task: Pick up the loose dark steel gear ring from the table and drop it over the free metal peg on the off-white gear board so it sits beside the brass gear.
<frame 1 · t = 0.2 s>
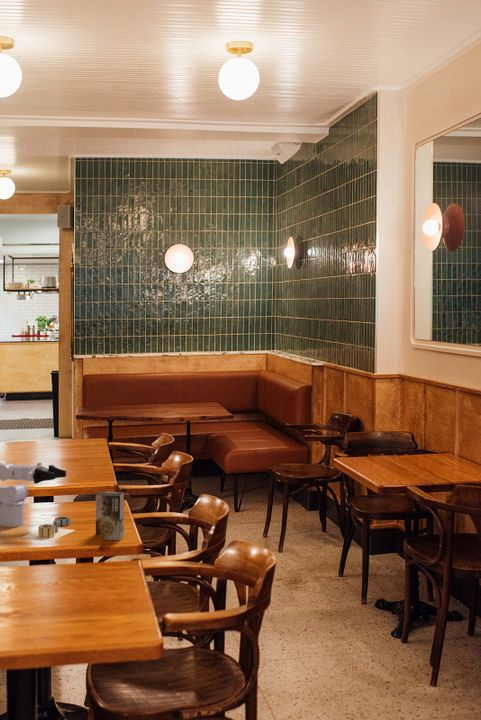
hand: (60, 475, 297), 21 cm above the table, tool horizontal, fingers open, 7 cm apart
gear board: (48, 536, 292), on the table
steel gear: (62, 527, 306), on the table
coffee box: (109, 538, 293), on the table
brass gear: (46, 535, 289), point 1 cm above the table, touching gear board
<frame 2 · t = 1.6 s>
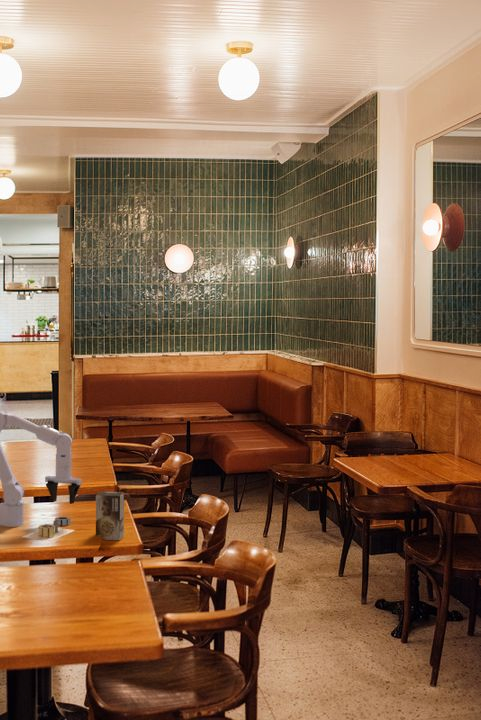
hand: (62, 502, 306), 9 cm above the table, tool pointing down, fingers open, 7 cm apart
nothing on the table moved.
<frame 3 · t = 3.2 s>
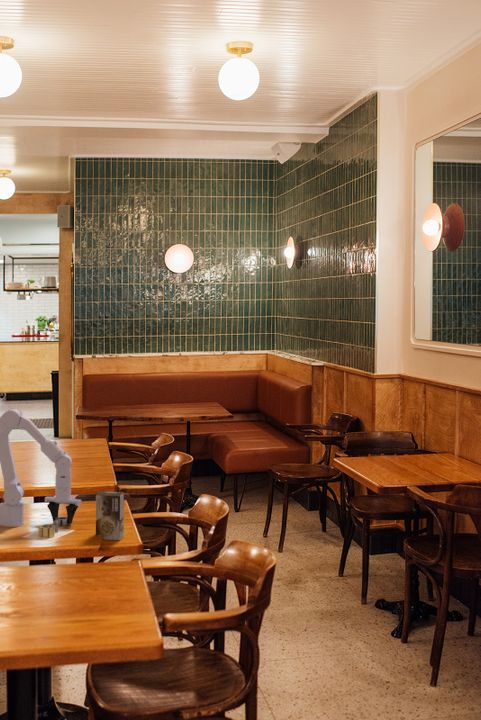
hand: (62, 523, 306), 2 cm above the table, tool pointing down, fingers closed on steel gear, 5 cm apart
steel gear: (62, 527, 306), on the table, touching gripper
everything else where it was.
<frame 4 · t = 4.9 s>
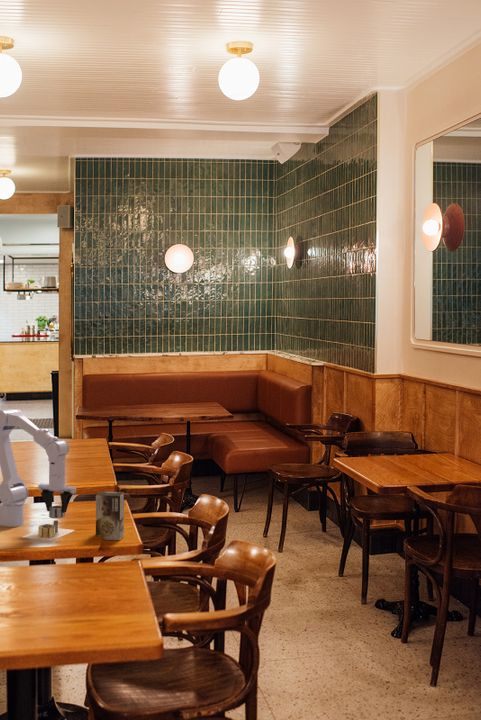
hand: (56, 511, 295), 8 cm above the table, tool pointing down, fingers closed on steel gear, 5 cm apart
steel gear: (57, 516, 296), point 7 cm above the table, touching gripper
everything else where it was.
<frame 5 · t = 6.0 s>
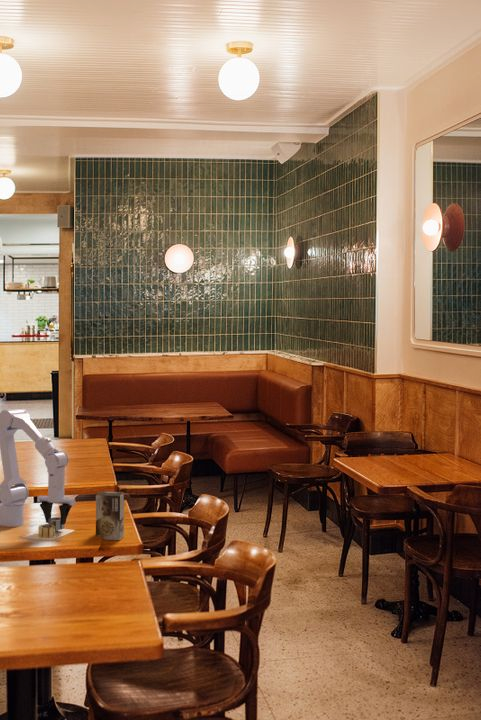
hand: (55, 523, 294), 4 cm above the table, tool pointing down, fingers closed on steel gear, 5 cm apart
steel gear: (56, 528, 295), point 2 cm above the table, touching gripper
everything else where it was.
when the fingers open (4 cm above the table, at t = 6.7 s): steel gear drops 1 cm, resting on gear board.
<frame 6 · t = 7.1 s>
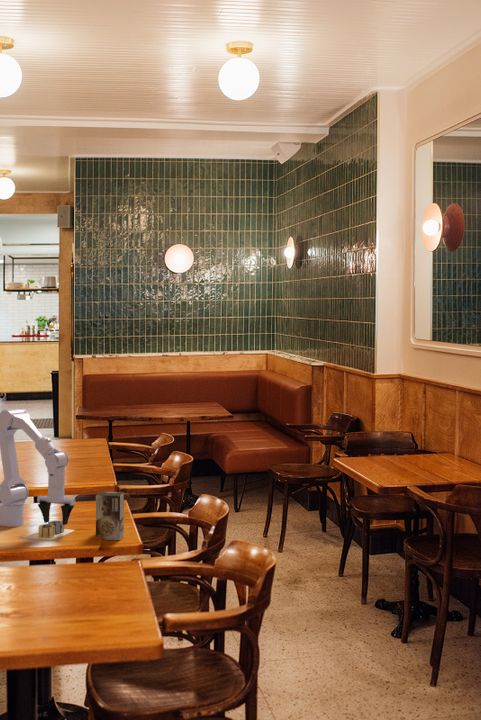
hand: (55, 523, 294), 4 cm above the table, tool pointing down, fingers open, 7 cm apart
steel gear: (56, 531, 295), point 1 cm above the table, touching gear board
everything else where it was.
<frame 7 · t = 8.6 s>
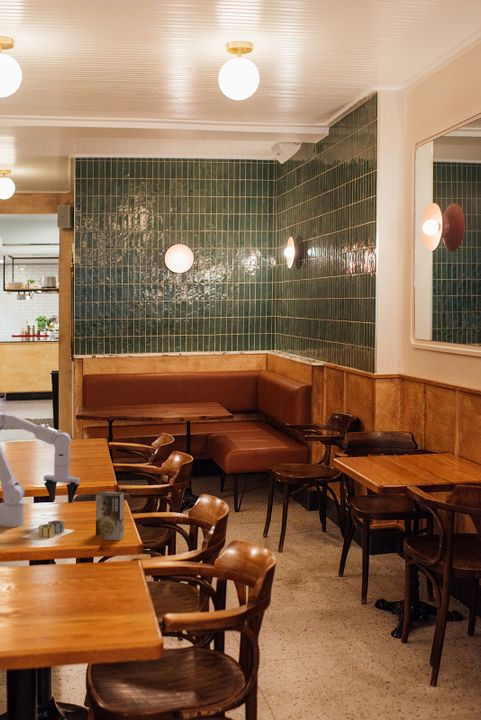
hand: (61, 501, 305), 10 cm above the table, tool pointing down, fingers open, 7 cm apart
nothing on the table moved.
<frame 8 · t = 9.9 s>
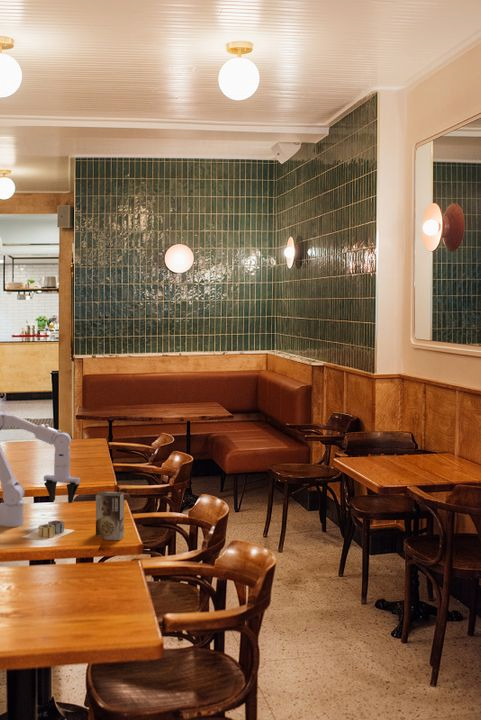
hand: (61, 501, 305), 10 cm above the table, tool pointing down, fingers open, 7 cm apart
nothing on the table moved.
at the end: steel gear 0.3 cm from the target spot on the gear board, point 1.2 cm above the gear board's base; steel gear tilted 0°; the gripper is holding nothing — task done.
